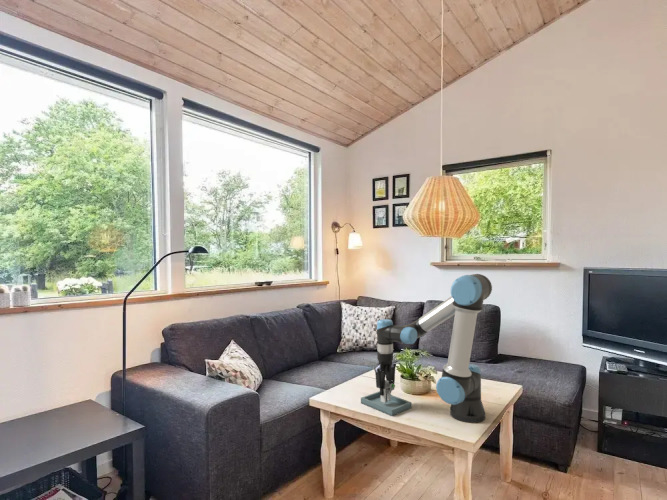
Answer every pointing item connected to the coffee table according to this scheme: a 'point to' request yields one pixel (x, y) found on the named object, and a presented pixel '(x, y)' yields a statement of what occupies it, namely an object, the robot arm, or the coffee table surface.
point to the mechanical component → (388, 387)
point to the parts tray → (386, 404)
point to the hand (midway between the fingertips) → (385, 400)
